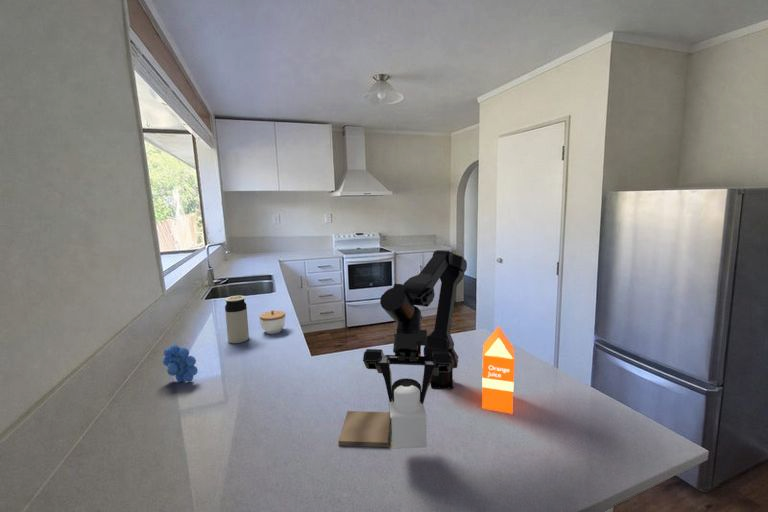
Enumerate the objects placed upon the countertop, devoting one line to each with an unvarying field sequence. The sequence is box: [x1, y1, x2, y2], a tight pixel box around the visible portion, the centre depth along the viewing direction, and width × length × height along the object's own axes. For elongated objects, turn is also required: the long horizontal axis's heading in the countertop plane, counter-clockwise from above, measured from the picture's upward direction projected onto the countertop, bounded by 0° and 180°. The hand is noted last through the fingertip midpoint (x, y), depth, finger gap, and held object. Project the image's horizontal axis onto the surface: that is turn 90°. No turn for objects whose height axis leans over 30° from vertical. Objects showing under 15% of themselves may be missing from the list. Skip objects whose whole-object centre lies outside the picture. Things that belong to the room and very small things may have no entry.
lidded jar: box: [259, 310, 286, 335], centre depth 144 cm, size 11×11×9 cm
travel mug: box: [224, 295, 250, 344], centre depth 134 cm, size 8×8×18 cm
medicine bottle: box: [388, 378, 428, 450], centre depth 68 cm, size 7×7×12 cm
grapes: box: [162, 344, 198, 383], centre depth 101 cm, size 12×7×12 cm, turn 79°
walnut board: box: [338, 410, 390, 448], centre depth 78 cm, size 11×11×1 cm
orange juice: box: [481, 325, 515, 414], centre depth 87 cm, size 8×9×20 cm
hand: (406, 402), depth 66 cm, fingers closed on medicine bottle, 6 cm apart
